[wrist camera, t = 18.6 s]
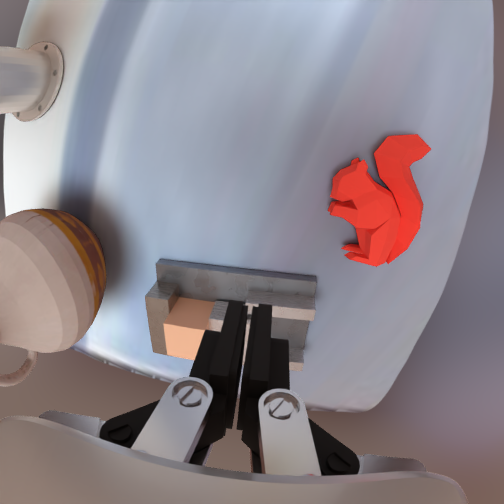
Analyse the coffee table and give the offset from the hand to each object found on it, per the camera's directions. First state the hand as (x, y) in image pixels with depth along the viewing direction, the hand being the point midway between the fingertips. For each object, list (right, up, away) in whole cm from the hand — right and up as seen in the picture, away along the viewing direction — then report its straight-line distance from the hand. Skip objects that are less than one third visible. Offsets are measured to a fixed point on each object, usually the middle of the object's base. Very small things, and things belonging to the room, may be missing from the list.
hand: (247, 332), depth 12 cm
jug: (-25, +3, +28) cm, 38 cm away
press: (-2, -5, +29) cm, 29 cm away
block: (-7, -5, +27) cm, 29 cm away
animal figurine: (+14, +10, +20) cm, 27 cm away
